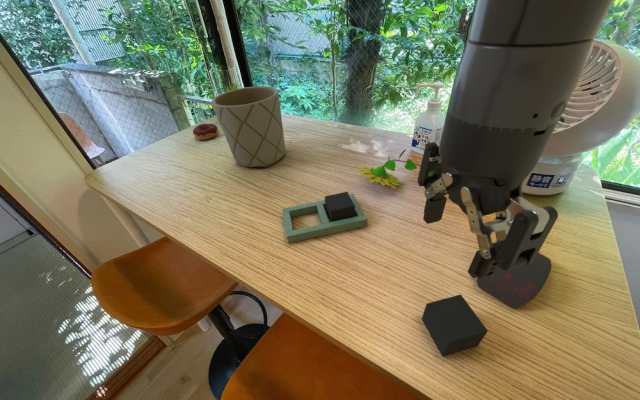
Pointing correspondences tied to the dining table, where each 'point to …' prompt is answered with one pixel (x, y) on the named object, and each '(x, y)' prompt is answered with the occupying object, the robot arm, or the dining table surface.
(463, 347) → the black block
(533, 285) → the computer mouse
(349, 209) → the black near-cubic block
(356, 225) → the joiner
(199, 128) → the donut
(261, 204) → the dining table surface
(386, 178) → the flower
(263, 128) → the planter
